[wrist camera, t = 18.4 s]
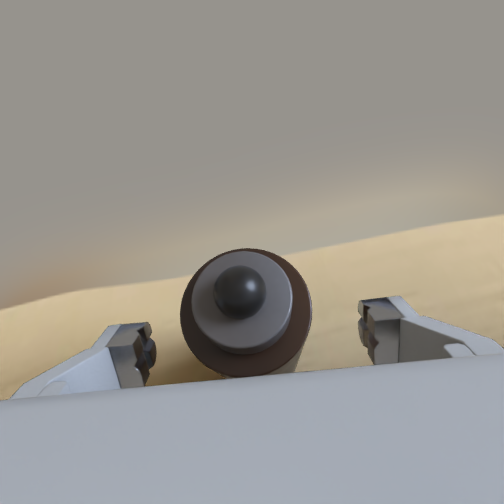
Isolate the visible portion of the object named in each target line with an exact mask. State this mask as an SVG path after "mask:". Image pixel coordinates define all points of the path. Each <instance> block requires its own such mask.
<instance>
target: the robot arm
mask: <svg viewBox="0 0 504 504" xmlns="http://www.w3.org/2000/svg"><path fill="white" fill-rule="evenodd" d="M358 312H359V314H360V315H361V318H360V320H359V321H358V330H359V335H360V339H361V342H362V344H363V346H365V347H367V348H368V355H369V357H370V358H371V360H372V362H373V364H374V365H371V366H360V367H350V368H339V369H328V370H318V371H307V372H296V373H286V374H275V375H264V376H254V377H243V378H232V379H221V380H211V381H200V382H189V383H179V384H168V385H157V386H146V387H144V386H145V384H146V382H147V379H148V377H149V375H150V373H149V369H150V368H152V367H153V366H154V364H155V361H156V354H157V353H156V345H155V342H154V341H153V340H152V339H151V338H150V335H151V333H152V329H151V326H150V324H149V323H148V322H142V323H130V324H117V325H110V326H108V327H107V328H106V330H105V331H104V332H103V333H102V335H101V336H100V337H99V338H98V340H97V341H96V342H95V343H94V345H93V346H92V347H91V349H86V350H84V351H82V352H80V353H78V354H77V355H75V356H73V357H71V358H69V359H68V360H66V361H64V362H62V363H60V364H59V365H57V366H55V367H53V368H51V369H49V370H48V371H46V372H44V373H42V374H40V375H39V376H37V377H35V378H33V379H31V380H29V381H28V382H26V383H24V384H23V385H22V386H21V387H20V388H19V389H18V390H17V391H16V392H15V393H14V394H13V395H12V396H11V397H10V399H8V400H0V504H504V349H503V348H502V347H501V346H500V345H499V344H497V343H496V342H495V341H494V340H493V339H490V338H487V337H484V336H481V335H478V334H475V333H473V332H470V331H467V330H464V329H461V328H458V327H455V326H452V325H449V324H447V323H444V322H441V321H438V320H435V319H432V318H429V317H426V316H419V315H418V314H417V313H416V312H415V311H414V310H413V309H412V308H411V307H410V305H409V304H408V303H407V302H406V301H405V300H404V299H403V298H402V297H401V296H393V297H384V298H376V299H368V300H361V301H359V303H358Z"/></svg>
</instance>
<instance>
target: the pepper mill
mask: <svg viewBox="0 0 504 504" xmlns="http://www.w3.org/2000/svg"><path fill="white" fill-rule="evenodd" d="M311 320H312V303H311V297H310V293H309V290H308V288H307V285H306V283H305V281H304V280H303V278H302V276H301V275H300V274H299V272H298V271H297V270H296V269H295V268H294V267H293V266H292V265H291V264H290V263H289V262H287V261H286V260H285V259H283V258H281V257H280V256H278V255H275V254H273V253H271V252H267V251H265V250H259V249H250V248H246V249H237V250H231V251H228V252H225V253H222V254H220V255H218V256H216V257H214V258H213V259H211V260H209V261H208V262H207V263H205V264H204V265H203V266H202V267H201V268H200V269H199V270H198V271H197V272H196V273H195V274H194V276H193V277H192V279H191V280H190V282H189V283H188V285H187V288H186V290H185V292H184V295H183V298H182V303H181V309H180V323H181V328H182V332H183V335H184V338H185V341H186V343H187V345H188V347H189V348H190V350H191V351H192V353H193V354H194V355H195V356H196V357H197V359H198V360H199V361H200V362H202V363H203V364H204V365H205V366H207V367H208V368H210V369H212V370H213V371H215V372H217V373H218V374H220V375H222V376H223V377H225V378H227V379H232V378H243V377H254V376H264V375H275V374H286V373H294V371H295V368H296V365H297V362H298V360H299V357H300V354H301V352H302V349H303V346H304V344H305V341H306V338H307V336H308V333H309V329H310V326H311Z"/></svg>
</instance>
